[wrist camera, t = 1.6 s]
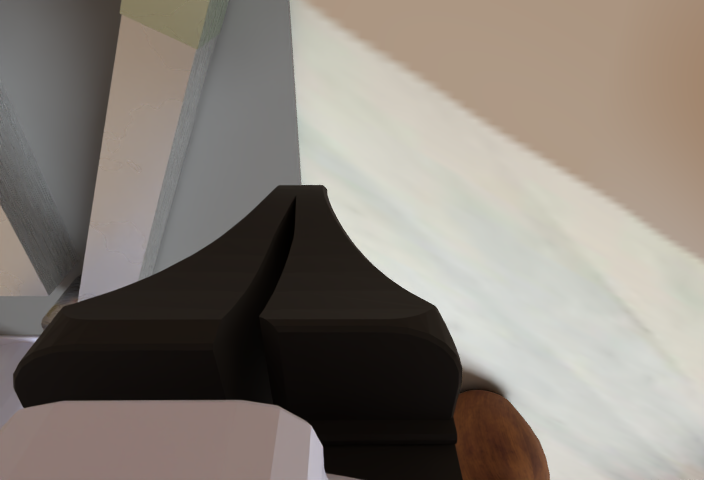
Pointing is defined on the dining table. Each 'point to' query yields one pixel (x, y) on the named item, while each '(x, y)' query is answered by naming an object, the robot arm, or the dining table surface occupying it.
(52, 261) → the fixed arm
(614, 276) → the dining table surface
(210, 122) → the mat
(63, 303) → the hinged arm
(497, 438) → the wooden figurine
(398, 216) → the dining table surface
